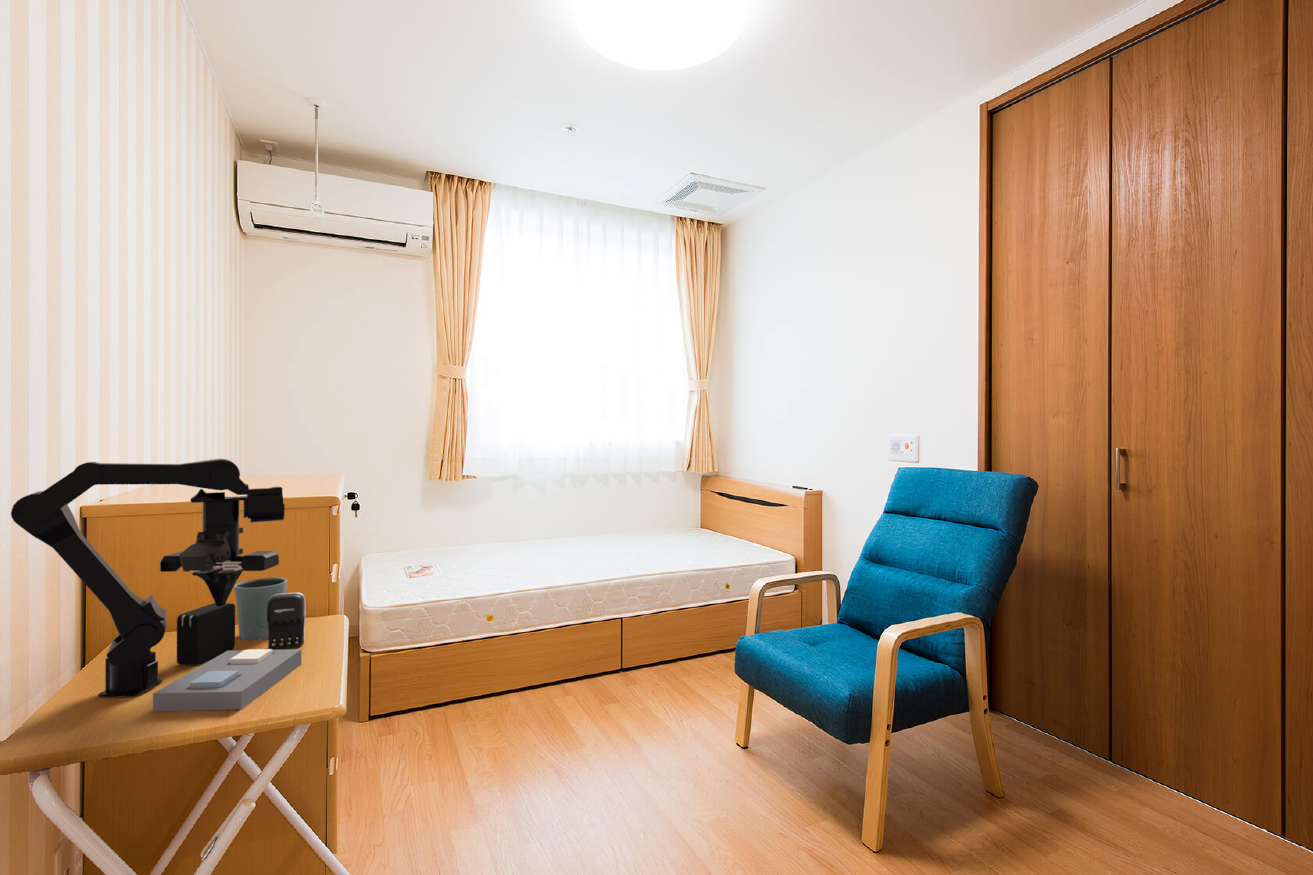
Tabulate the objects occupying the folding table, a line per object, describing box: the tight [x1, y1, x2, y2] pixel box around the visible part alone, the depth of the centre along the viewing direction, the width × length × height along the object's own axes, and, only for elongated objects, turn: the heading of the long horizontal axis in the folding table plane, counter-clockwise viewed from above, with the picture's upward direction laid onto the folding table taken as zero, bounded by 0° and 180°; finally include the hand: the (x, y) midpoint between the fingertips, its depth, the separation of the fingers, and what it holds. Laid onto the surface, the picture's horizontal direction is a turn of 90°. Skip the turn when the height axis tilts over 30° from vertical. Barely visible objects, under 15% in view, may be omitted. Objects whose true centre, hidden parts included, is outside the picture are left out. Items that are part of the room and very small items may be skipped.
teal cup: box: [233, 576, 288, 642], centre depth 140 cm, size 10×10×12 cm
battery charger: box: [267, 592, 306, 650], centre depth 132 cm, size 7×4×11 cm, turn 111°
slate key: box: [190, 671, 239, 689], centre depth 106 cm, size 5×5×2 cm
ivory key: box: [230, 648, 273, 664], centre depth 117 cm, size 5×5×2 cm
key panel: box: [152, 648, 302, 712], centre depth 112 cm, size 14×20×3 cm
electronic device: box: [176, 602, 236, 666], centre depth 126 cm, size 4×10×10 cm, turn 174°
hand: (220, 605), depth 117 cm, fingers closed
